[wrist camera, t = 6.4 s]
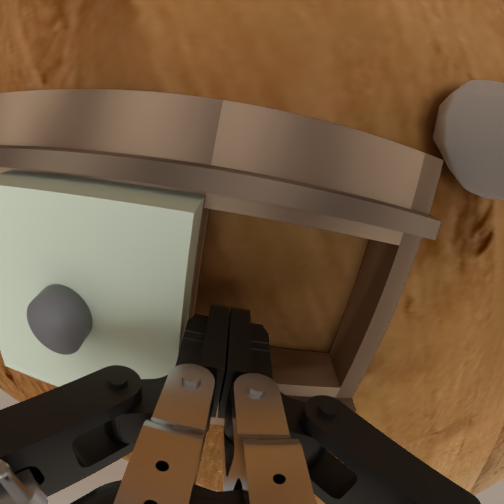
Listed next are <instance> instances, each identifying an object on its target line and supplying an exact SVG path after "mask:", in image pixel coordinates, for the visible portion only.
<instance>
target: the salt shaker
mask: <svg viewBox="0 0 504 504" xmlns="http://www.w3.org/2000/svg"><path fill="white" fill-rule="evenodd" d="M433 140H434V142H435V144H436V146H437V147H438V149H439V151H440V153H441V155H442V157H443V159H444V161H445V163H446V164H447V166H448V168H449V170H450V171H451V172H452V174H453V175H454V176H455V177H456V179H457V180H458V181H459V183H460V184H461V186H462V187H463V188H464V189H466V190H467V191H469V192H471V193H474V194H476V195H478V196H481V197H483V198H486V199H496V200H504V83H503V82H497V81H492V80H470V81H467V82H465V83H464V84H462V85H461V86H460V87H459V88H457V89H456V90H455V91H453V92H452V93H451V94H450V95H449V96H448V97H447V98H446V99H445V100H444V101H443V102H442V103H441V104H440V105H439V108H438V114H437V119H436V124H435V129H434V133H433Z"/></svg>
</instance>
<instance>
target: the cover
mask: <svg viewBox="0 0 504 504" xmlns="http://www.w3.org/2000/svg"><path fill="white" fill-rule="evenodd" d="M204 197H205V195H199V194H193V193H187V192H180V191H174V190H167V189H161V188H154V187H147V186H140V185H133V184H126V183H118V182H111V181H103V180H95V179H87V178H78V177H70V176H61V175H51V174H42V173H32V172H21V171H6V172H3V173H0V351H1V354H2V357H3V360H4V363H5V366H7V367H10V368H12V369H14V370H17V371H19V372H22V373H24V374H26V375H29V376H31V377H34V378H37V379H39V380H42V381H44V382H47V383H50V384H53V385H55V386H58V387H60V386H62V385H65V384H67V383H69V382H72V381H74V380H77V379H79V378H81V377H84V376H86V375H88V374H91V373H93V372H95V371H98V370H100V369H102V368H105V367H107V366H112V365H121V366H126V367H128V368H131V369H132V370H134V371H135V372H136V373H137V374H138V375H139V376H140V379H156V378H161V377H164V376H166V375H168V374H169V372H170V371H171V369H173V368H174V367H175V366H176V362H177V358H178V354H179V350H180V347H181V343H182V339H183V335H184V332H185V328H186V324H187V321H188V316H189V307H190V298H191V290H192V282H193V274H194V266H195V258H196V251H197V244H198V237H199V230H200V223H201V216H202V209H203V203H204Z"/></svg>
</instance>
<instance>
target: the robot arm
mask: <svg viewBox="0 0 504 504" xmlns="http://www.w3.org/2000/svg"><path fill="white" fill-rule="evenodd" d="M229 309H230V307H228V306H222V305H216V304H211V306H210V311H209V316H203V315H197V314H195V315H194V316H192V317H191V318H190V319H189V320H188V321H187V324H186V328H185V332H184V335H183V339H182V343H181V347H180V350H179V354H178V358H177V362H176V366H175V367H174V368H173V369H171V371H170V372H169V374H168V375H166V376H164V377H161V378H156V379H140V376H139V375H138V374H137V373H136V372H135V371H134V370H132V369H131V368H128V367H126V366H121V365H112V366H107V367H105V368H102V369H100V370H98V371H95V372H93V373H91V374H88V375H86V376H84V377H81V378H79V379H77V380H74V381H72V382H69V383H67V384H65V385H62V386H60V387H57V388H55V389H53V390H50V391H48V392H45V393H43V394H40V395H38V396H35V397H33V398H30V399H28V400H25V401H23V402H20V403H18V404H15V405H12V406H10V407H7V408H5V409H2V410H0V504H48V500H47V497H48V496H50V495H52V494H54V493H56V492H58V491H60V490H62V489H64V488H66V487H68V486H70V485H72V484H74V483H76V482H78V481H80V480H82V479H84V478H86V477H87V476H90V475H92V474H93V473H95V472H97V471H99V470H101V469H103V468H104V467H106V466H108V465H110V464H112V463H113V462H115V461H117V460H119V459H120V458H122V457H124V456H126V455H127V454H129V453H131V452H132V451H133V452H132V455H131V457H130V460H129V463H128V465H127V468H126V471H125V474H124V476H123V479H122V480H120V481H115V482H111V483H108V484H105V485H103V486H100V487H98V488H96V489H95V490H93V491H91V492H90V493H88V494H86V495H85V496H83V497H81V498H79V499H78V500H76V501H74V502H72V503H71V504H316V500H315V496H314V494H315V495H316V496H317V497H319V498H320V499H321V500H322V501H323V502H324V503H326V504H481V503H480V501H479V500H478V499H477V498H476V497H475V496H474V495H473V494H471V493H469V492H468V491H466V490H465V489H463V488H462V487H460V486H458V485H457V484H455V483H454V482H452V481H451V480H449V479H448V478H446V477H445V476H443V475H442V474H440V473H439V472H437V471H436V470H434V469H433V468H431V467H430V466H428V465H427V464H425V463H424V462H423V461H421V460H420V459H418V458H417V457H415V456H414V455H412V454H411V453H410V452H408V451H407V450H405V449H404V448H403V447H401V446H400V445H398V444H397V443H396V442H394V441H393V440H391V439H390V438H389V437H387V436H386V435H385V434H383V433H382V432H380V431H379V430H378V429H376V428H375V427H374V426H372V425H371V424H370V423H368V422H367V421H366V420H364V419H363V418H362V417H360V416H359V415H358V414H356V413H355V412H354V411H352V410H351V409H350V408H349V407H347V406H346V405H345V404H343V403H342V402H341V401H339V400H338V399H336V398H334V397H331V396H327V395H317V396H313V397H311V398H310V399H308V401H307V402H302V401H299V400H296V399H293V398H290V397H288V396H286V395H284V394H283V393H282V392H280V389H279V387H278V385H277V384H276V382H275V381H274V380H273V376H272V366H271V356H270V347H269V337H268V333H267V331H266V330H265V328H264V327H263V326H262V325H261V324H254V323H250V310H247V309H241V308H234V307H231V309H230V314H229ZM218 402H219V404H218ZM217 407H218V417H217V418H223V419H224V429H223V433H222V456H223V476H224V487H223V492H216V491H212V490H209V489H206V488H203V487H201V486H198V485H196V482H197V476H198V472H199V467H200V462H201V457H202V452H203V447H204V442H205V437H206V433H207V432H208V430H209V426H210V421H211V417H215V418H216V412H217ZM331 453H332V454H333V455H332V454H331ZM336 457H337V458H338V459H339V460H338V459H337V458H336ZM342 462H343V463H344V464H343V463H342ZM347 466H348V467H349V468H348V467H347ZM352 470H353V471H354V472H353V471H352Z"/></svg>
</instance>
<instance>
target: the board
mask: <svg viewBox="0 0 504 504" xmlns="http://www.w3.org/2000/svg"><path fill="white" fill-rule="evenodd" d="M443 161H444V160H442V159H439V158H437V157H434V156H432V155H429V154H427V153H424V152H421V151H419V150H416V149H413V148H410V147H408V146H405V145H402V144H399V143H396V142H393V141H390V140H387V139H384V138H381V137H378V136H375V135H372V134H369V133H366V132H362V131H359V130H356V129H352V128H349V127H345V126H342V125H338V124H334V123H331V122H327V121H323V120H319V119H315V118H311V117H307V116H303V115H299V114H294V113H290V112H285V111H281V110H276V109H271V108H266V107H261V106H256V105H250V104H245V103H239V102H233V101H227V100H220V99H213V98H206V97H199V96H191V95H182V94H172V93H162V92H149V91H134V90H113V89H54V90H33V91H19V92H8V93H0V173H3V172H6V171H21V172H32V173H42V174H51V175H61V176H70V177H78V178H87V179H95V180H103V181H111V182H118V183H126V184H133V185H140V186H147V187H154V188H161V189H167V190H174V191H180V192H187V193H193V194H199V195H205V197H204V203H203V209H202V216H201V223H200V230H199V237H198V244H197V251H196V258H195V266H194V274H193V282H192V290H191V298H190V307H189V316H188V320H189V319H190V318H191V317H192V316H194V315H195V308H196V300H197V292H198V284H199V277H200V270H201V262H202V255H203V248H204V242H205V235H206V228H207V222H208V215H209V209H214V210H219V211H225V212H231V213H237V214H242V215H248V216H254V217H259V218H265V219H270V220H275V221H281V222H286V223H291V224H297V225H302V226H307V227H312V228H317V229H322V230H327V231H332V232H337V233H342V234H347V235H352V236H357V237H361V238H366V239H370V240H369V243H368V246H367V249H366V252H365V256H364V259H363V262H362V265H361V268H360V271H359V274H358V277H357V280H356V283H355V285H354V288H353V291H352V294H351V297H350V300H349V302H348V305H347V308H346V311H345V313H344V316H343V319H342V321H341V324H340V326H339V329H338V332H337V334H336V337H335V339H334V342H333V344H332V347H331V349H330V352H329V353H324V352H313V351H303V350H294V349H285V348H276V347H270V356H271V366H272V376H273V380H274V381H275V382H276V384H277V385H278V387H279V389H280V392H282V393H283V394H284V395H286V396H288V397H290V398H293V399H296V400H299V401H302V402H307V401H308V399H310V398H311V397H313V396H317V395H327V396H331V397H334V398H336V399H338V400H339V401H341V402H342V403H343V404H345V405H346V406H347V407H349V408H350V409H351V410H352V411H354V412H355V413H356V409H355V406H354V403H353V400H352V397H353V395H354V393H355V392H356V390H357V388H358V386H359V384H360V382H361V380H362V378H363V377H364V375H365V373H366V371H367V369H368V367H369V365H370V363H371V361H372V359H373V357H374V355H375V353H376V350H377V348H378V346H379V344H380V342H381V340H382V338H383V336H384V333H385V331H386V329H387V327H388V324H389V322H390V320H391V318H392V315H393V313H394V311H395V308H396V306H397V303H398V301H399V299H400V296H401V294H402V291H403V289H404V286H405V283H406V281H407V278H408V276H409V273H410V270H411V268H412V265H413V262H414V259H415V256H416V254H417V251H418V248H419V245H420V242H421V239H422V237H424V238H428V239H432V240H435V239H436V236H437V233H438V230H439V227H440V224H441V221H439V220H438V219H436V218H434V217H432V216H431V215H429V213H430V210H431V207H432V203H433V200H434V196H435V192H436V189H437V185H438V181H439V177H440V173H441V169H442V165H443ZM0 352H1V351H0ZM18 372H19V371H18ZM20 373H22V372H20ZM23 374H24V373H23ZM25 375H26V374H25ZM27 376H29V375H27ZM30 377H31V376H30ZM33 378H34V377H33ZM35 379H37V378H35ZM38 380H39V379H38ZM40 381H42V380H40ZM43 382H44V381H43ZM46 383H47V382H46ZM48 384H50V383H48ZM51 385H53V384H51ZM54 386H55V385H54ZM57 387H58V386H57ZM218 404H219V402H218ZM217 417H218V407H217V412H216V418H215V417H211V421H210V424H214V425H221V426H224V419H223V418H217Z"/></svg>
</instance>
